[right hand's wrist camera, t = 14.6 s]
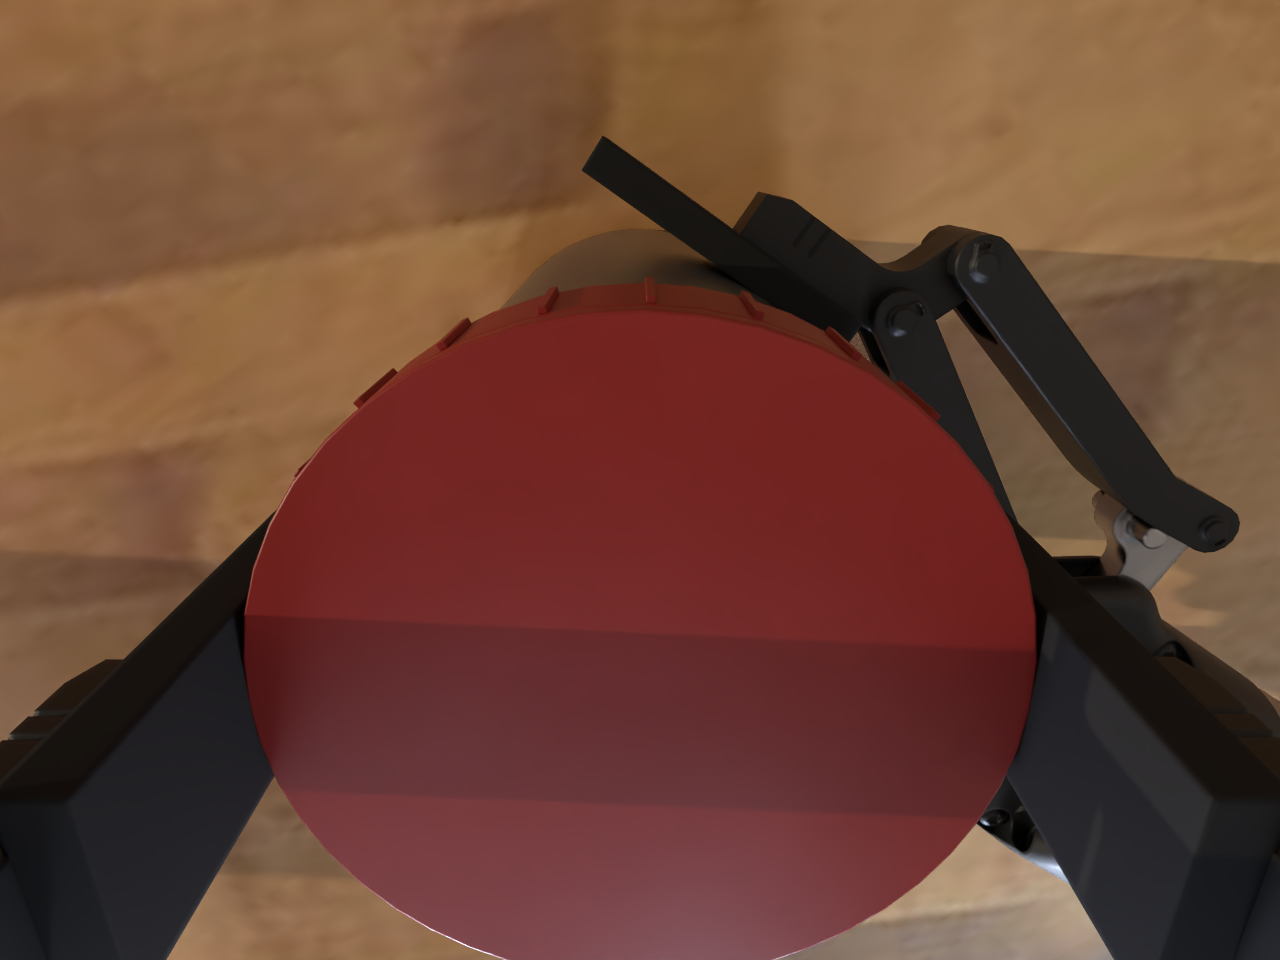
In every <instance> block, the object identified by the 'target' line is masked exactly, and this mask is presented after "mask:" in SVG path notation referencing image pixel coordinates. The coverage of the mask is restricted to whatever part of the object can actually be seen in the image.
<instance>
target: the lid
mask: <svg viewBox="0 0 1280 960" xmlns="http://www.w3.org/2000/svg"><path fill="white" fill-rule="evenodd" d="M354 405H355V406H357V407H358V409H357V410H356V411H355V412H354V413H353V414H352V415H351V416H350V417H349V418H348V419H347V420H346V421H345V422H343V423H342V424H341V425H340V426H339V427H338V428H337V429H336V430H335V431H334V432H333V433H332V434H331V435H330V436H329V437H328V438H326V439H325V441H324V442H323V443H322V444H321V446H320V447H319V448H318V450H317V451H316V452H315V453H314V455H313V456H312V457H311V458H310V459H309V460H308V461H307V462H306V463H305V464H303V465H302V466H301V467H300V468H299V469H298V470H297V472H296V473H295V475H294V476H295V477H296V478H295V479H294V480H293V482H292V484H291V486H290V487H289V489H288V491H287V493H286V495H285V496H284V498H283V500H282V502H281V504H280V505H279V507H278V509H277V511H276V512H275V514H274V516H273V518H272V520H271V521H270V523H269V526H268V529H267V531H266V534H265V537H264V540H263V542H262V545H261V548H260V551H259V553H258V556H257V559H256V562H255V564H254V567H253V571H252V577H251V582H250V587H249V592H248V598H247V603H246V608H245V613H244V648H243V662H244V670H245V678H246V685H247V691H248V696H249V701H250V706H251V710H252V714H253V719H254V723H255V726H256V730H257V733H258V737H259V740H260V744H261V746H262V748H263V751H264V753H265V755H266V757H267V760H268V762H269V764H270V766H271V768H272V771H273V773H274V775H275V777H276V779H277V782H278V784H279V785H280V787H281V788H282V790H283V792H284V793H285V795H286V796H287V798H288V800H289V801H290V803H291V804H292V806H293V808H294V809H295V811H296V812H297V814H298V816H299V817H300V819H301V820H302V821H303V822H304V824H305V825H306V826H307V827H308V829H309V830H310V831H311V832H312V833H313V835H314V836H315V837H316V838H317V839H318V841H319V842H320V843H321V844H322V846H323V847H324V848H325V849H326V850H327V852H328V853H329V854H330V855H332V856H333V857H334V858H335V859H336V860H337V861H338V862H339V863H340V864H341V865H342V866H343V867H344V868H345V869H346V870H347V871H348V872H349V873H350V874H352V875H353V876H354V877H355V878H356V879H357V880H358V881H359V882H360V883H362V884H363V885H364V886H366V887H367V888H368V889H370V890H371V891H372V892H374V893H375V894H376V895H378V896H379V897H380V898H382V899H383V900H384V901H386V902H387V903H388V904H390V905H391V906H392V907H394V908H395V909H397V910H399V911H400V912H402V913H404V914H405V915H407V916H409V917H410V918H412V919H414V920H416V921H417V922H419V923H421V924H422V925H424V926H426V927H427V928H429V929H431V930H433V931H435V932H437V933H440V934H442V935H444V936H446V937H448V938H450V939H453V940H455V941H457V942H459V943H461V944H463V945H466V946H468V947H470V948H473V949H476V950H479V951H482V952H485V953H488V954H490V955H493V956H496V957H499V958H502V959H505V960H775V959H778V958H781V957H784V956H787V955H790V954H793V953H796V952H799V951H802V950H805V949H808V948H810V947H812V946H815V945H817V944H819V943H821V942H823V941H826V940H828V939H830V938H832V937H834V936H837V935H839V934H841V933H843V932H845V931H848V930H849V929H851V928H853V927H855V926H856V925H858V924H860V923H861V922H863V921H865V920H867V919H868V918H870V917H872V916H873V915H875V914H877V913H879V912H880V911H882V910H884V909H885V908H887V907H888V906H889V905H891V904H892V903H893V902H895V901H896V900H897V899H899V898H900V897H902V896H903V895H904V894H906V893H907V892H908V891H910V890H911V889H912V888H914V887H915V886H916V885H918V884H919V883H920V882H921V881H922V880H923V879H924V878H926V877H927V876H928V875H929V874H930V873H931V872H932V871H933V870H934V869H935V868H936V867H937V866H938V865H939V864H941V863H942V862H943V861H944V860H945V859H946V858H947V857H948V856H949V855H950V854H951V853H952V852H953V851H954V849H955V848H956V847H957V846H958V845H959V843H960V842H961V841H962V840H963V839H964V838H965V836H966V835H967V834H968V833H969V832H970V830H971V829H972V828H973V827H974V826H975V824H976V823H977V822H978V821H979V819H980V817H981V816H982V814H983V813H984V811H985V810H986V808H987V807H988V805H989V803H990V802H991V800H992V799H993V797H994V796H995V794H996V792H997V791H998V789H999V788H1000V786H1001V784H1002V782H1003V780H1004V778H1005V776H1006V773H1007V771H1008V769H1009V767H1010V765H1011V763H1012V760H1013V758H1014V756H1015V754H1016V752H1017V750H1018V747H1019V744H1020V741H1021V738H1022V734H1023V731H1024V728H1025V724H1026V721H1027V717H1028V713H1029V708H1030V704H1031V698H1032V693H1033V688H1034V681H1035V673H1036V666H1037V634H1036V613H1035V607H1034V602H1033V596H1032V591H1031V585H1030V579H1029V574H1028V570H1027V567H1026V564H1025V561H1024V558H1023V555H1022V553H1021V550H1020V547H1019V544H1018V541H1017V538H1016V536H1015V533H1014V530H1013V527H1012V525H1011V523H1010V521H1009V519H1008V518H1007V516H1006V514H1005V512H1004V510H1003V508H1002V507H1001V505H1000V503H999V501H998V499H997V497H996V496H995V494H994V492H995V490H994V489H993V487H992V485H991V484H990V483H989V482H988V481H987V480H986V479H985V478H984V476H983V475H982V474H981V472H980V471H979V470H978V468H977V467H976V466H975V465H974V463H973V462H972V461H971V459H970V458H969V457H968V455H967V454H966V453H965V452H964V450H963V449H962V448H961V446H960V445H959V444H958V442H957V441H956V440H955V439H954V438H953V437H951V436H950V435H949V434H948V433H947V432H946V431H945V430H944V429H943V428H942V427H941V426H940V425H939V424H938V423H937V422H936V420H938V419H939V418H940V417H941V416H940V415H939V414H938V413H937V412H936V411H935V410H934V409H933V408H932V407H930V406H929V405H928V404H927V403H926V402H925V401H924V400H922V399H921V398H920V397H919V396H918V395H917V394H915V393H914V392H913V391H912V390H911V389H910V388H909V387H907V386H906V385H905V384H904V383H903V382H902V381H901V380H899V381H898V382H897V383H896V384H895V383H894V382H892V381H891V380H890V379H889V378H888V377H887V376H886V375H885V374H884V373H882V372H881V371H880V370H879V369H878V368H877V367H876V366H875V365H874V364H872V363H871V362H870V361H868V360H867V359H865V358H864V357H863V356H862V354H861V353H860V352H859V351H858V350H857V349H856V348H855V347H853V346H852V345H851V344H850V343H849V342H848V341H847V340H846V339H845V338H843V337H842V336H841V335H840V334H839V333H838V332H837V331H836V330H835V329H833V328H831V327H829V326H828V327H827V329H826V331H823V330H821V329H819V328H817V327H815V326H814V325H812V324H810V323H808V322H806V321H804V320H802V319H800V318H798V317H796V316H794V315H792V314H790V313H788V312H785V311H782V310H779V309H776V308H773V307H771V306H768V305H765V304H762V303H759V302H756V301H755V300H754V298H753V297H752V296H751V295H750V293H749V292H745V291H741V293H740V296H737V295H732V294H727V293H723V292H718V291H713V290H708V289H703V288H698V287H694V286H681V285H667V284H655V283H654V278H653V277H646V278H645V283H630V284H614V285H598V286H588V287H583V288H578V289H573V290H568V291H563V292H559V291H558V287H557V286H555V287H551V288H549V289H548V291H547V292H546V294H545V295H542V296H539V297H536V298H533V299H530V300H527V301H524V302H521V303H518V304H515V305H512V306H510V307H507V308H504V309H501V310H498V311H495V312H492V313H490V314H488V315H486V316H484V317H482V318H481V319H479V320H477V321H475V322H473V323H471V322H470V320H469V318H466V319H464V320H462V321H461V322H460V323H458V324H457V325H456V326H455V327H454V328H453V329H452V330H451V331H450V332H449V333H448V334H447V335H446V336H445V337H443V338H442V339H441V340H440V341H439V342H438V343H436V344H435V345H433V346H432V347H430V348H429V349H428V350H426V351H425V352H423V353H422V354H420V355H419V356H418V357H416V358H415V359H413V360H412V361H410V362H409V363H408V364H407V365H406V366H405V367H404V368H402V369H401V370H400V371H399V372H398V373H397V371H396V370H395V369H394V368H393V369H391V370H390V371H389V372H388V373H387V374H386V375H384V376H383V377H382V378H381V379H380V380H379V381H377V382H376V383H375V384H374V385H373V386H372V387H371V388H369V389H368V390H367V391H366V392H365V393H364V394H362V395H361V396H360V397H359V398H358V399H357V400H356V401H355V402H354Z"/></svg>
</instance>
